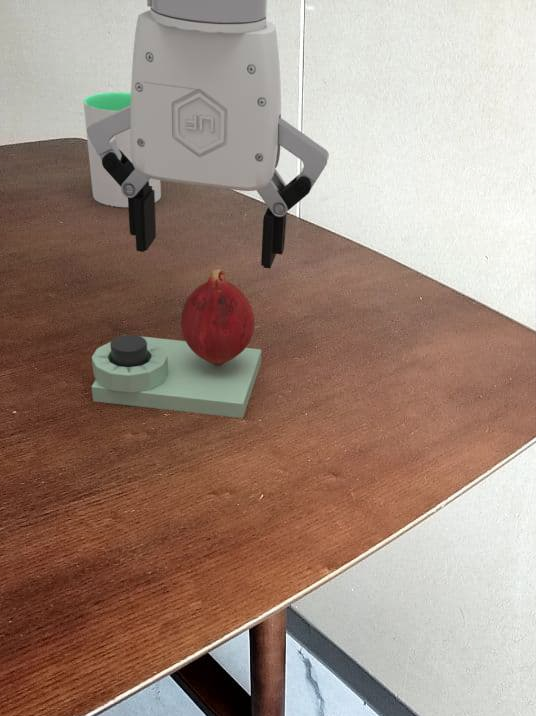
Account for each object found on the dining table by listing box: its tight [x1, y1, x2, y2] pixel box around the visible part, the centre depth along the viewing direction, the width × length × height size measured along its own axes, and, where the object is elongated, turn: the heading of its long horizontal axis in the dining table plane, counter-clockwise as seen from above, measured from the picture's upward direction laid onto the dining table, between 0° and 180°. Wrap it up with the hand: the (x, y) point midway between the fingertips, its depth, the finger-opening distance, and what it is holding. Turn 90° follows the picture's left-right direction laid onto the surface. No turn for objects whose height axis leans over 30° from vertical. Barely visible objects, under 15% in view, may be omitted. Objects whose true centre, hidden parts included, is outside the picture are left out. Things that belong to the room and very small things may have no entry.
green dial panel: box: [90, 335, 262, 419], centre depth 70 cm, size 12×9×3 cm
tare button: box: [109, 334, 148, 367], centre depth 68 cm, size 3×3×2 cm
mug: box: [83, 91, 162, 208], centre depth 102 cm, size 12×8×10 cm, turn 13°
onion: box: [180, 267, 255, 365], centre depth 68 cm, size 6×6×8 cm
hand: (207, 253), depth 67 cm, fingers open, 9 cm apart
